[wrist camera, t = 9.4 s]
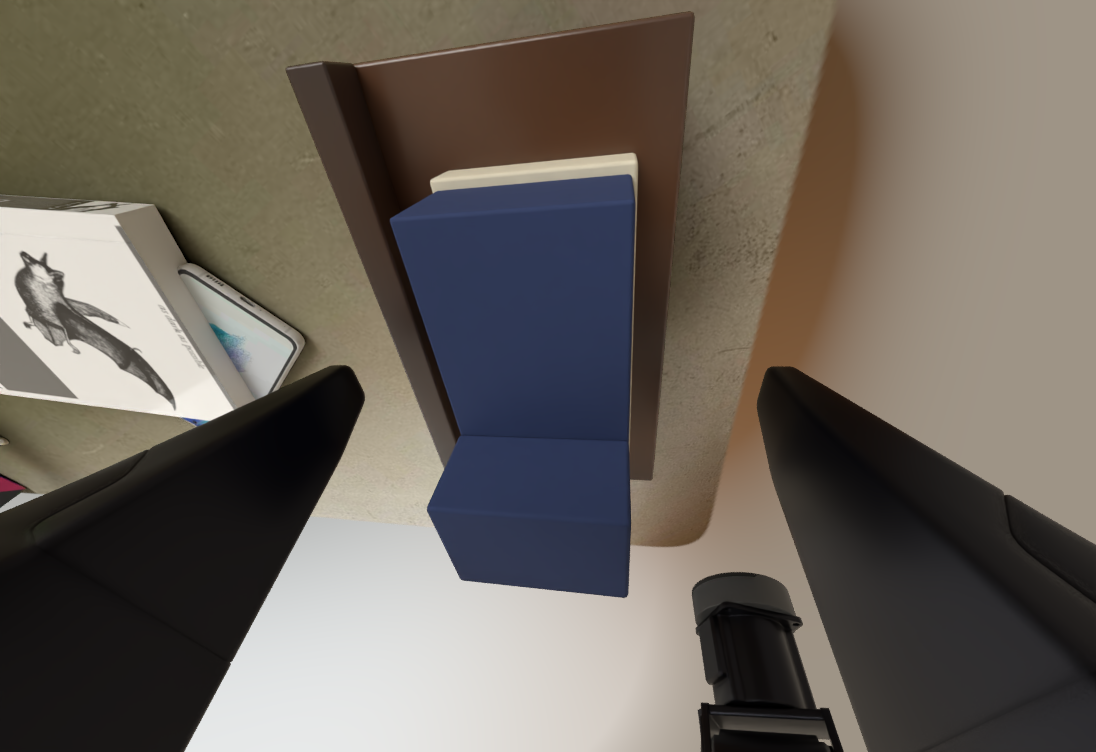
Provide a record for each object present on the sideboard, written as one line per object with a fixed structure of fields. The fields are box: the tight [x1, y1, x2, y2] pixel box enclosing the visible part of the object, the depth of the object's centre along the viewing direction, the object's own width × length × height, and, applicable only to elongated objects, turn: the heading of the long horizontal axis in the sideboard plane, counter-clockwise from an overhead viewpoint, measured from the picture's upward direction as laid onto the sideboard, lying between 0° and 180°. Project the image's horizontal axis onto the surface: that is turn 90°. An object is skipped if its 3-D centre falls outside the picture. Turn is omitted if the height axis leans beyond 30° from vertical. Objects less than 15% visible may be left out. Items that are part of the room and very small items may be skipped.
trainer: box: [390, 153, 638, 598], centre depth 8 cm, size 8×4×5 cm, turn 6°
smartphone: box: [177, 263, 305, 426], centre depth 26 cm, size 7×1×15 cm
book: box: [0, 195, 255, 421], centre depth 24 cm, size 23×14×2 cm, turn 89°
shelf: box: [286, 11, 695, 480], centre depth 14 cm, size 12×7×10 cm, turn 6°
